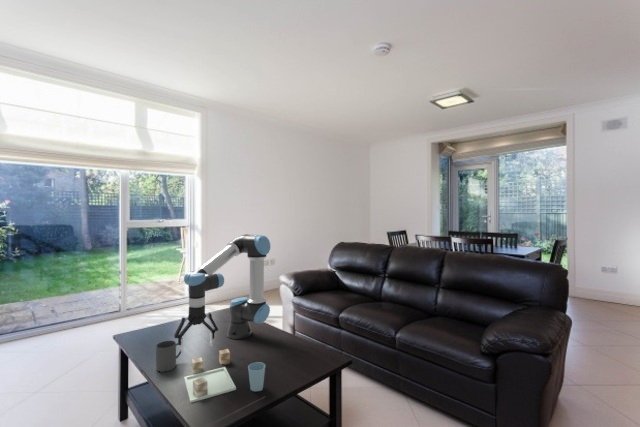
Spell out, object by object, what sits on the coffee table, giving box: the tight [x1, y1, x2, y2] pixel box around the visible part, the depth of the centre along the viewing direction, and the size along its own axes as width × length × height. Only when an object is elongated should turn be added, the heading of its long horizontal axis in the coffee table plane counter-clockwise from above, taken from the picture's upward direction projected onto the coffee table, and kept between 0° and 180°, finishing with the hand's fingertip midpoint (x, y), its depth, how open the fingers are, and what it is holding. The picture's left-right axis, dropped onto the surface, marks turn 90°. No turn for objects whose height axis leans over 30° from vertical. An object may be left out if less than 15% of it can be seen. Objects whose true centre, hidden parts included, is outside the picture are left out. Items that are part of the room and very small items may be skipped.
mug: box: [155, 340, 183, 373], centre depth 161 cm, size 14×9×12 cm
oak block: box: [218, 348, 231, 366], centre depth 165 cm, size 4×4×6 cm
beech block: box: [191, 357, 204, 375], centre depth 155 cm, size 4×4×6 cm
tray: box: [183, 366, 237, 404], centre depth 144 cm, size 19×21×2 cm
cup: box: [247, 361, 266, 392], centre depth 141 cm, size 8×8×10 cm
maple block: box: [193, 377, 208, 398], centre depth 135 cm, size 4×4×6 cm
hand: (196, 348), depth 155 cm, fingers open, 13 cm apart
